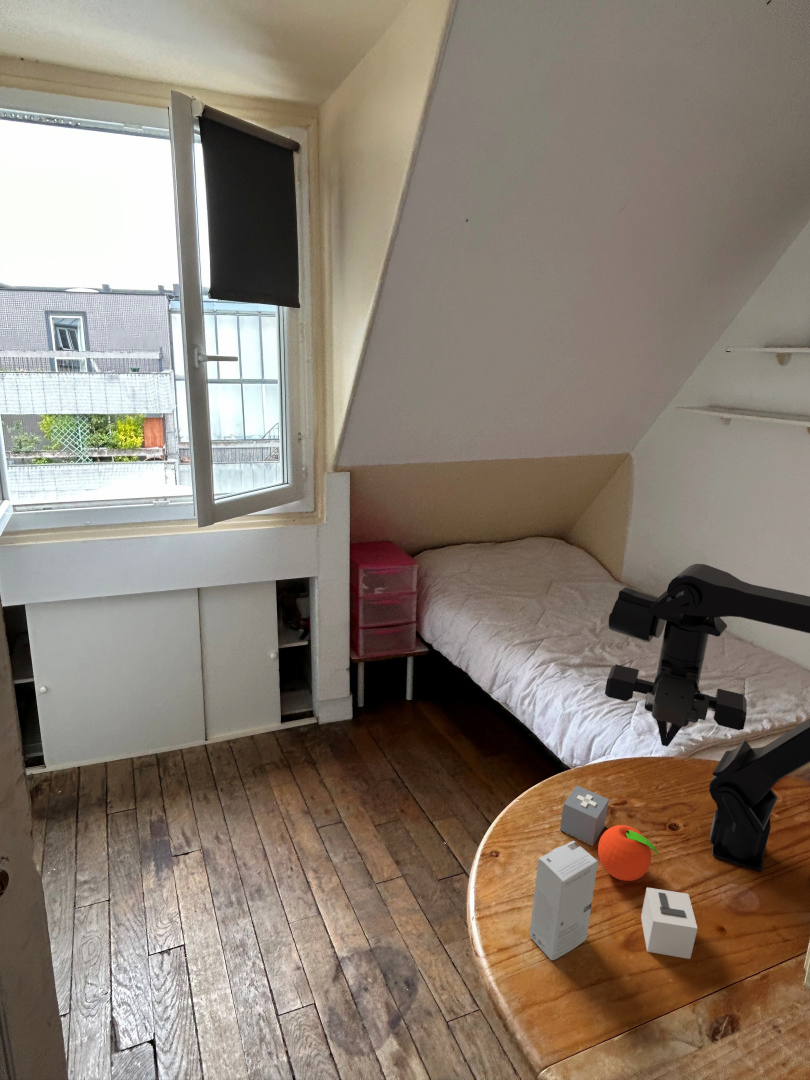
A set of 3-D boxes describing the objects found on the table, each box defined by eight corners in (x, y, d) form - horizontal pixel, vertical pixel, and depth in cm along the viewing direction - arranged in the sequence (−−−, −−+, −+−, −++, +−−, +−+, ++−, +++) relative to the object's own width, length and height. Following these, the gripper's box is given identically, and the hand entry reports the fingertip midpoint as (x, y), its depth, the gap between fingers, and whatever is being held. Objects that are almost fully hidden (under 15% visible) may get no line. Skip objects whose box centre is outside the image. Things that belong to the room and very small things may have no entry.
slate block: (604, 826, 103) (609, 798, 101) (592, 846, 99) (596, 817, 97) (573, 811, 105) (577, 784, 103) (559, 830, 101) (563, 802, 100)
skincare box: (552, 963, 81) (564, 884, 77) (526, 935, 84) (536, 858, 80) (588, 939, 84) (601, 862, 80) (562, 912, 88) (573, 837, 84)
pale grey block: (681, 924, 87) (688, 892, 85) (690, 959, 82) (697, 927, 80) (640, 917, 88) (646, 886, 86) (647, 952, 83) (653, 919, 81)
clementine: (658, 867, 95) (667, 827, 93) (650, 904, 89) (659, 861, 87) (601, 846, 99) (607, 806, 96) (589, 880, 93) (596, 838, 90)
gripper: (605, 661, 94) (591, 756, 99) (756, 697, 86) (732, 797, 91) (618, 628, 103) (604, 717, 108) (755, 658, 96) (733, 751, 101)
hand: (664, 744), depth 102 cm, fingers closed
